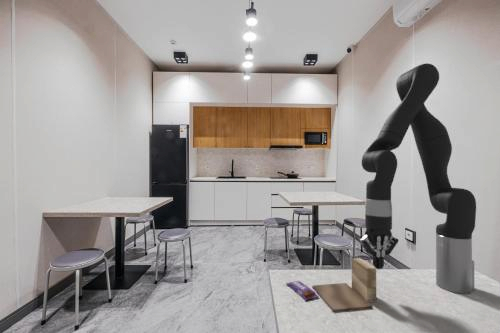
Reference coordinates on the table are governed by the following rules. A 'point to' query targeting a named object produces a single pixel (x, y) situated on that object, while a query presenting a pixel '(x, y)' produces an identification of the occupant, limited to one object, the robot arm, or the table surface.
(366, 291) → the wooden block
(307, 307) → the table surface
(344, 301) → the walnut board
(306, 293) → the snack package
